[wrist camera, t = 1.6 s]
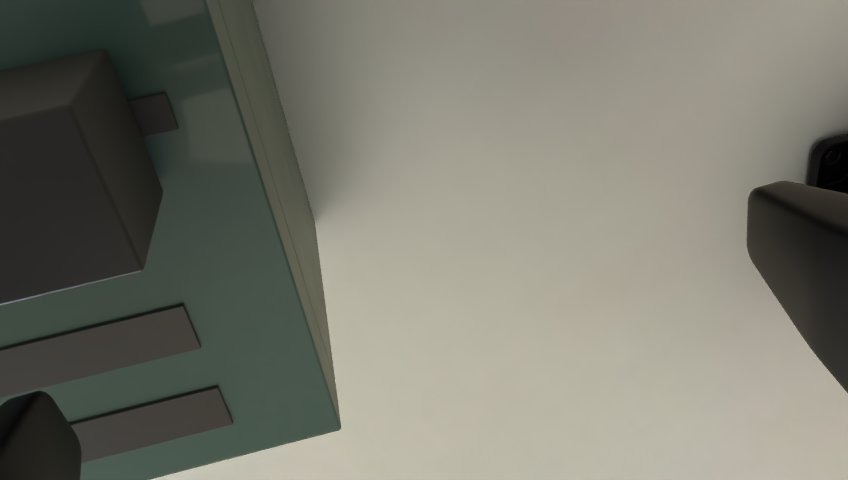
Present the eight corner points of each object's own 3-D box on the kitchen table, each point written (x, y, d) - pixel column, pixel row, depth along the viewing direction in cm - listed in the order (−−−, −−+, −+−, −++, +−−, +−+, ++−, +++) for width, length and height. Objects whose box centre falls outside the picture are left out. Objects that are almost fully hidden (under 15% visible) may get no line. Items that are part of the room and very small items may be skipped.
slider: (107, 46, 11) (69, 104, 9) (165, 192, 12) (144, 272, 10) (-35, 77, 10) (-107, 143, 8) (39, 221, 12) (-8, 308, 10)
